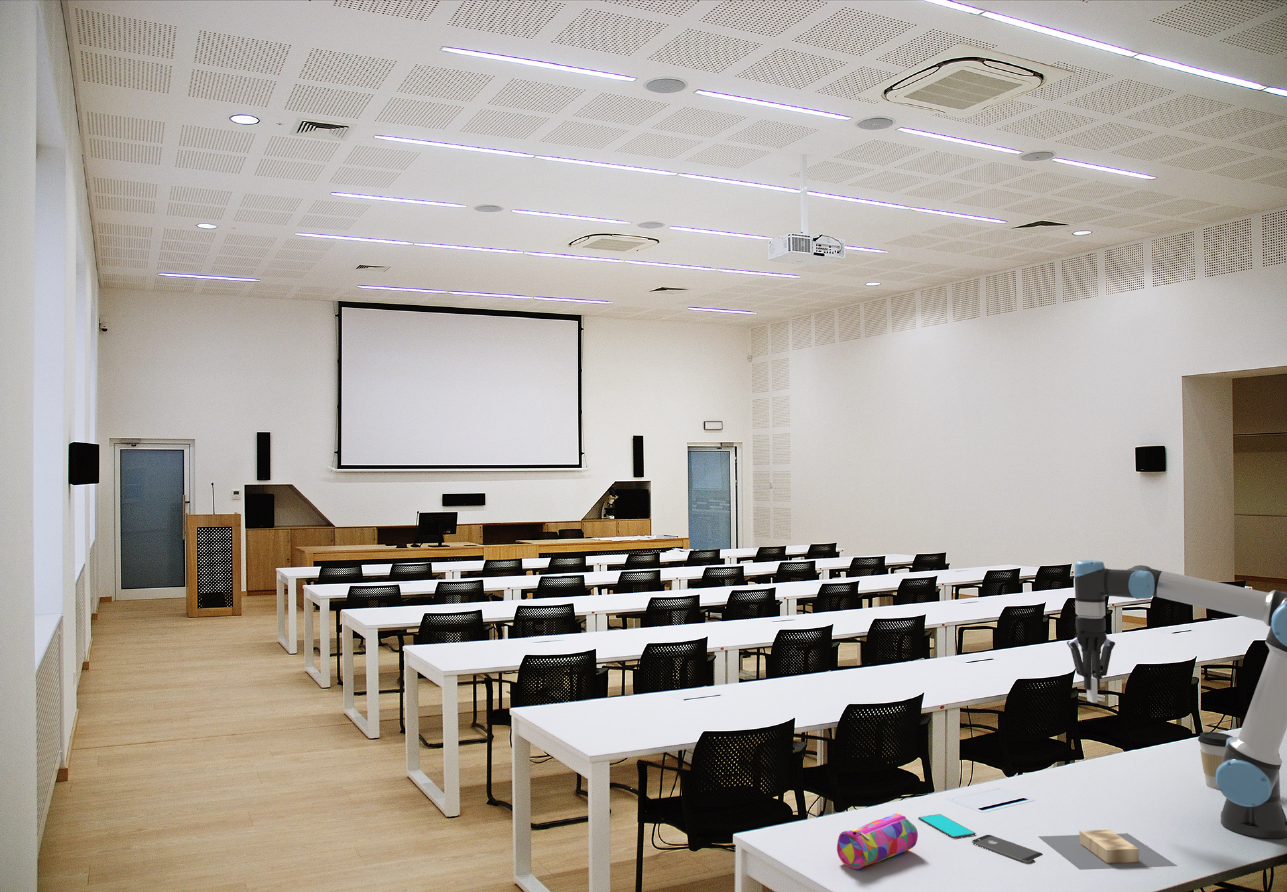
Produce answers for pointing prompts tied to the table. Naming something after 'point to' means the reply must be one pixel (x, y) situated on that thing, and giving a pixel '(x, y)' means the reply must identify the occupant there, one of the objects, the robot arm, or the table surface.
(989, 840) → the phone
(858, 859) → the pencil case
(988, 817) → the table surface
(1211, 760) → the coffee cup
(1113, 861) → the oak block
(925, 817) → the smartphone
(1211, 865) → the table surface
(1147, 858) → the rubber mat
